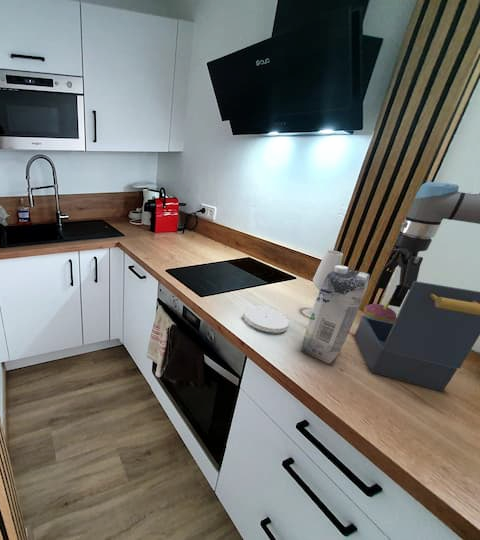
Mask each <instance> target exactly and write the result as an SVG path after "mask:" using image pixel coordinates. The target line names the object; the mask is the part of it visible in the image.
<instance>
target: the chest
mask: <svg viewBox="0 0 480 540" xmlns="http://www.w3.org/2000/svg"><path fill="white" fill-rule="evenodd" d="M393 324H394V322H386V321H382V320H377V319H372V318H368V317H367V316H362V317H361V319H360V321H359V323H358V325H357V328H356V330H355V333H354V338H355V340H356V343H357V344H358V347H359V349H360V351H361V354H362V356H363V357H364V360H365V362H366V364H367V366H368V368H369V371H370V373H373V374H377V375H381V376H384V377H387V378H388V377H389V378H391V379H395V380H399V381H401V382H402V381H403V382H406V383H408V384H409V383H410V384H413V385H417V386H421V387H424V388H428V389H432V390H436V391H439V392H444V391H445V389H446V387H447V386H448V385H449V383H450V382H451V380H452V379H453V377H454V375H455V374H456V372H457V371H458V368H454V367H450V366H446V365H442V364H438V363H434V362H429V361H425V360H421V359H417V358H413V357H409V356H405V355H401V354H397V353H393V352H388V351H384V350H383V349H382V348H383V346H384V344H385V342H386V339H387V337H388V335H389V333H390V331H391V329H392V326H393Z"/></svg>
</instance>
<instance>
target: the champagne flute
mask: <svg viewBox="0 0 480 540" xmlns="http://www.w3.org/2000/svg"><path fill="white" fill-rule="evenodd" d="M343 257H344V253H343V252H340V251H337V250H333V249H332V250H330V249H327V250H325V252H324V254H323V257H322V259H321V260H320V263H319V265H318V267H317V270H316V272H315V274H314V276H313V278H312V283H313V286H314V287H315V288H316V289H317V294H316V298H315V301H314V303H313V306H312V308H306V309H305V308H304V309H302V311H301V312H302V314H303V315H304V316H305V317H307V318H309V319H310V318H311V315H312V312H313V309H314V306H315V303H316V300H317V298H318V295H319V292H320V289H321V286H322V284H323V282H324V280H325V278H326V277H327V275H328V274H329V273H330V272H332V271H333V269H334V268H335V266H337V265H340V266H341V265H342V260H343Z"/></svg>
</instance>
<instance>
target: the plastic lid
mask: <svg viewBox="0 0 480 540" xmlns="http://www.w3.org/2000/svg"><path fill="white" fill-rule="evenodd" d="M243 319H244V321H245V322H246V323H247V324H248V325H250V326H251V327H253V328H255V329H257V330H259V331H262V332H266V333H274V334H275V333H276V334H280V333H284V332H286V331H287V330H288V328H289V325H290V320H289V319H288V317H287V316H286V315H284V313H281V312H280V311H278V310H276V309H273V308H270V307H266V306H259V305H252V306H248V307H247V308H245V309H244V311H243Z"/></svg>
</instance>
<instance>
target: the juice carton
mask: <svg viewBox="0 0 480 540" xmlns="http://www.w3.org/2000/svg"><path fill="white" fill-rule="evenodd" d="M370 276H371V274H370V273H367V272H364V271H360V270H356V269H352V268H349V267H348V266H346V265H342V264H341V265H337V266H335V268H334V269H333V271H332V272H330V273H329V274H328V275H327V277H326V278H325V280H324V282H323V284H322V286H321V289H320V292H319V291H318V292H319V295H318V294H317V295H318V298H317V300H316V299H315V300H316V303H315V302H314V303H315V306H314V305H313V306H314V309H313V308H312V309H313V312H312V315H311V318H310V317H309V321H308V323H307V326H306V328H305V332H304V335H303V339H302V345H301V351H302V353H304V354H306V355H308V356H310V357H313V358H316V359H317V360H319V361H322V362H324V363H326V364H332V362H333V361H334V360H335V359H336V357H338V355H339V353H340V352H341V350H342V348H343V346H344V345H345V342H346V341H347V337H348V335H349V333H350V331H351V328H352V326H353V324H354V321H355V319H356V316H357V314H358V311H359V309H360V307H361V304H362V302H363V300H364V298H365V295H366V293H367V289H368V286H369V282H370Z"/></svg>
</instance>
